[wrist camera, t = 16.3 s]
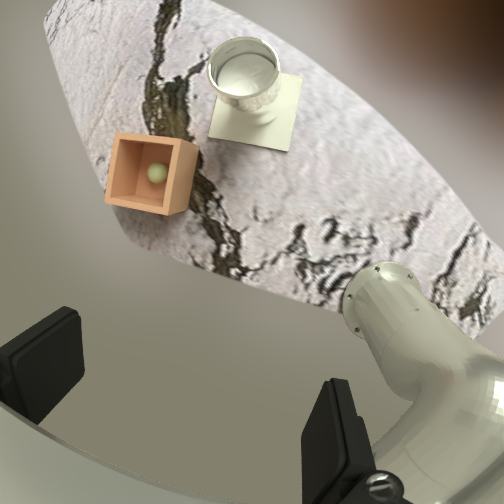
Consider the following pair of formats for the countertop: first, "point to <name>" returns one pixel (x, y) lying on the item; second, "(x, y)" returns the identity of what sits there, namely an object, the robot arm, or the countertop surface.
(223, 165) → the countertop surface
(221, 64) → the beer glass
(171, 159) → the open box
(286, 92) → the plain cream tile
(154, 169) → the sage ball
